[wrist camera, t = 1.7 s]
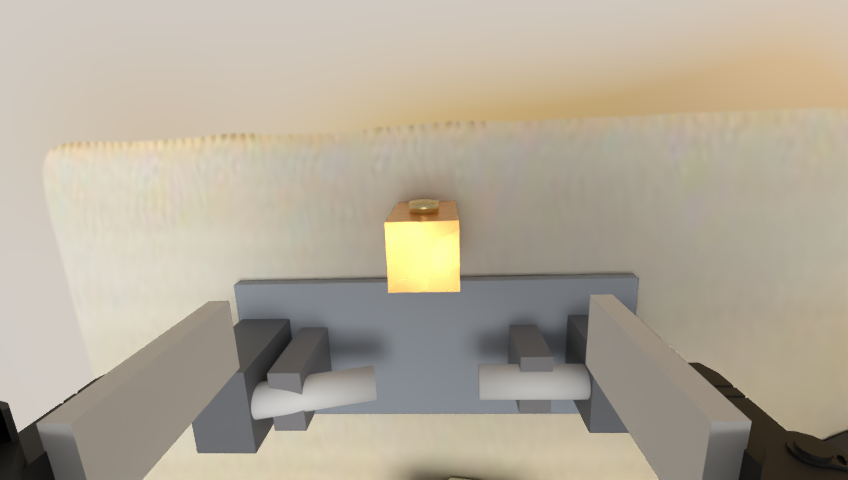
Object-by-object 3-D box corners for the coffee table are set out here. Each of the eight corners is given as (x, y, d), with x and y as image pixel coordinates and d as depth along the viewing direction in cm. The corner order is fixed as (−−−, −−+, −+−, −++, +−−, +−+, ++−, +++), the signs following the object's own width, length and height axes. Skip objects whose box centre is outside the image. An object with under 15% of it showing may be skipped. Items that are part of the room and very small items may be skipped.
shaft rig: (632, 273, 32) (703, 323, 24) (620, 405, 35) (679, 494, 26) (239, 280, 34) (169, 330, 25) (258, 406, 37) (201, 489, 28)
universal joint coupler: (398, 193, 32) (383, 211, 24) (454, 191, 31) (459, 209, 24) (401, 264, 33) (389, 303, 25) (455, 263, 33) (460, 302, 25)
